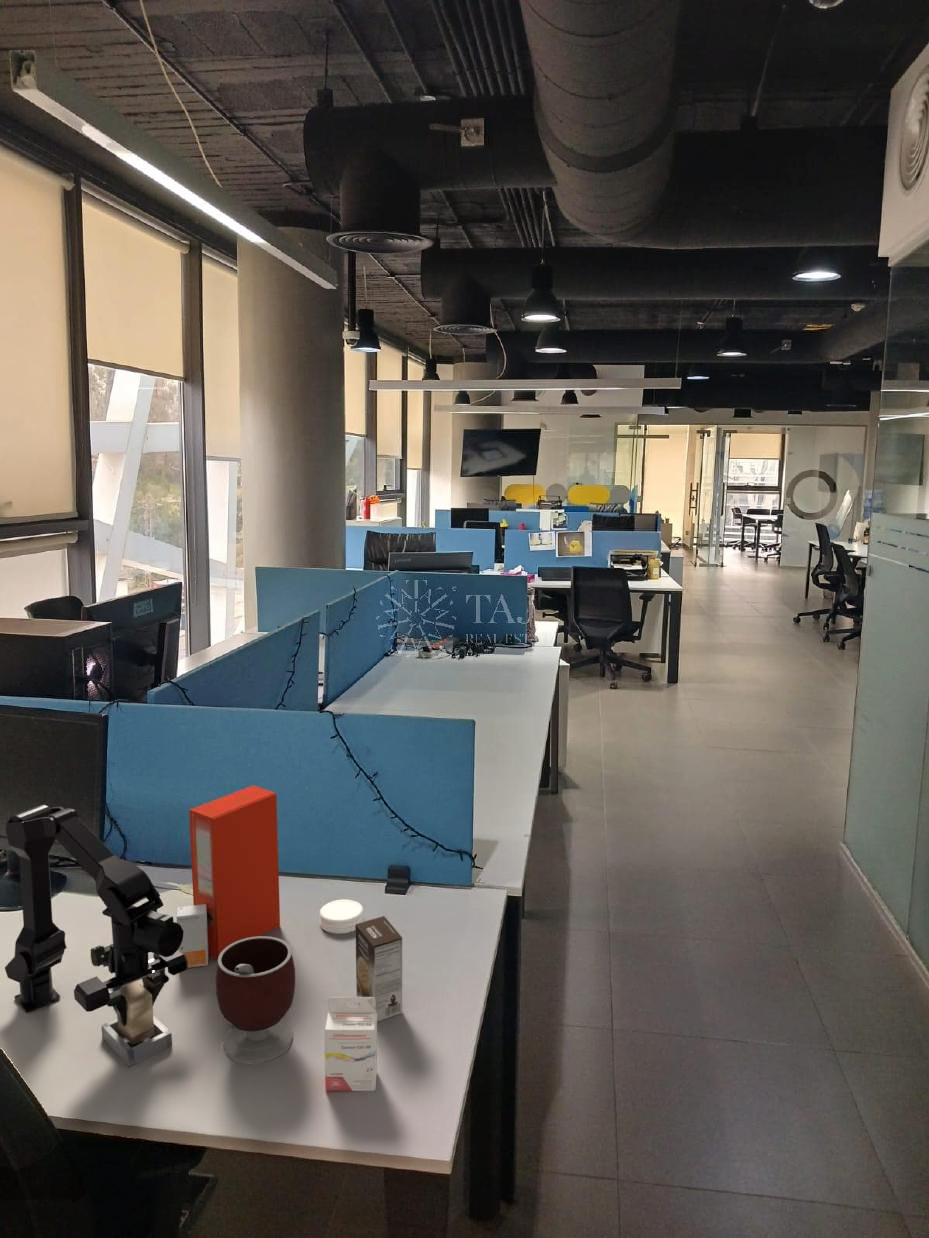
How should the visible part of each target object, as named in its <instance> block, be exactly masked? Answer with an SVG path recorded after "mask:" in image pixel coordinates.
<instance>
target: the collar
mask: <svg viewBox="0 0 929 1238" xmlns="http://www.w3.org/2000/svg"><path fill="white" fill-rule="evenodd" d="M153 1020H154V1035H153V1036H154V1037H152V1038H150V1039H147V1040H146V1041H144V1042H141V1043H139V1044H138V1045H135V1046H133V1047H131V1046H130V1045H128V1043H127V1042H126V1041H125V1040H124V1039H123V1038H122V1037H121V1036H120V1035H119V1034H122V1033H121V1032H120V1031H119V1030H118V1021H117V1018H114V1019H112V1020H110V1021H109V1022H106V1023H104V1024H102V1025H101V1036H102V1039H103V1040H104V1041H105V1042H106V1043H107V1044H108V1046H109V1047H110V1048H111V1049H112V1050H113V1051H114V1052H115V1053H116V1054H117V1056H119V1058H120V1059H122V1061H123V1062H125V1064H126V1065H127V1066H128V1067H131V1066H133V1065H135V1064H138V1063H139V1062H141V1061H144V1060H145V1059H147V1058H150V1057H151V1056H153V1055H156V1054H157V1053H160V1052H161V1051H164V1050H166V1049H168V1048H170V1047H172V1046H173V1037H172V1035H173V1034H172V1032H171V1031H170V1030H169V1029H168V1028H167V1027H166V1026H165V1025H164V1024H163V1023H162V1022H160V1020H158V1018H157V1017H156V1016H155V1015H153Z"/></svg>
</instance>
